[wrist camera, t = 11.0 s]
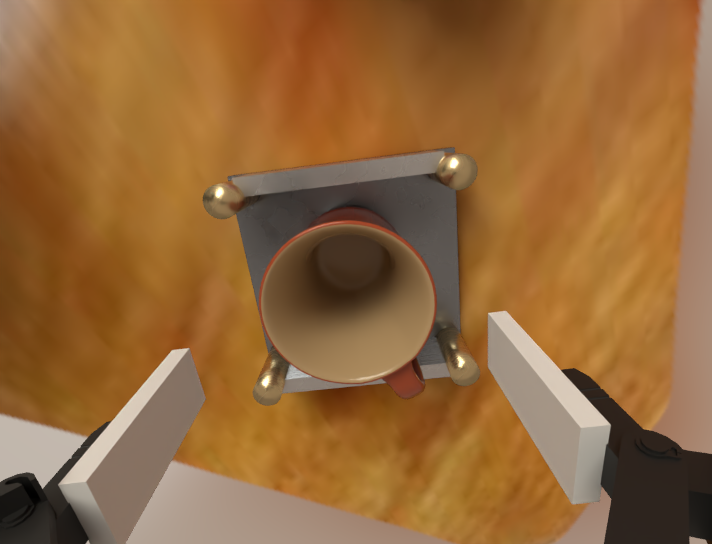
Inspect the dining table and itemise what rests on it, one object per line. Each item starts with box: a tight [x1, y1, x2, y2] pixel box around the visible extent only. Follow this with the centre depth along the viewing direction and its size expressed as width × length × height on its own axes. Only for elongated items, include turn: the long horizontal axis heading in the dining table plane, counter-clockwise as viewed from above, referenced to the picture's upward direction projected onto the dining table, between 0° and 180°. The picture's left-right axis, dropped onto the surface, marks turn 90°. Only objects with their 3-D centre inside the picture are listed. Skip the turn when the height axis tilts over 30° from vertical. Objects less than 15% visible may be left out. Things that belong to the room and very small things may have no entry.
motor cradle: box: [203, 147, 480, 406], centre depth 26 cm, size 16×16×6 cm
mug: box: [259, 207, 437, 399], centre depth 23 cm, size 12×9×10 cm
